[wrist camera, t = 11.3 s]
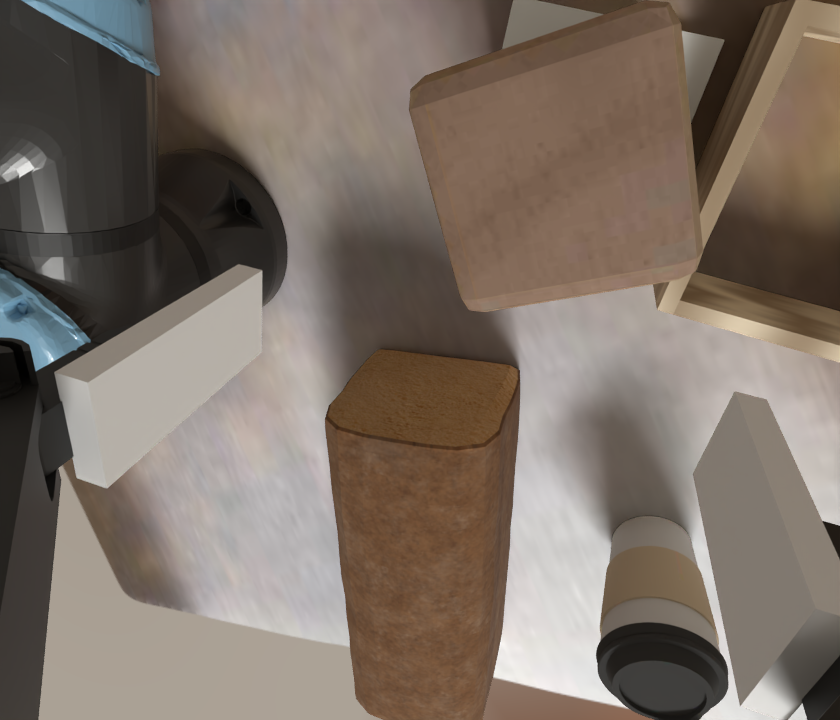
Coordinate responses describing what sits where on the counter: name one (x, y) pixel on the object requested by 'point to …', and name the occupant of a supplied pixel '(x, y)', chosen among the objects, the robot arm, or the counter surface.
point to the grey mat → (545, 17)
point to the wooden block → (565, 161)
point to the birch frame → (718, 173)
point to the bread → (424, 528)
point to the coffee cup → (658, 625)
